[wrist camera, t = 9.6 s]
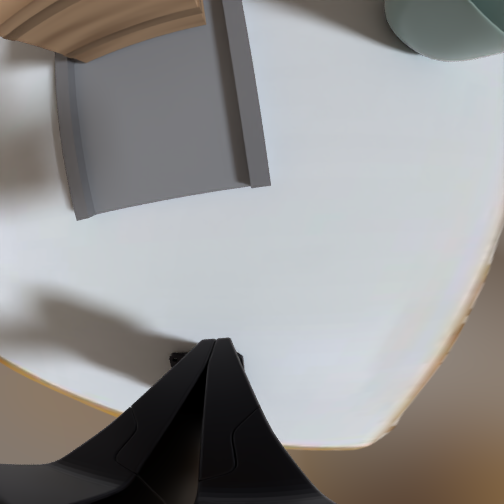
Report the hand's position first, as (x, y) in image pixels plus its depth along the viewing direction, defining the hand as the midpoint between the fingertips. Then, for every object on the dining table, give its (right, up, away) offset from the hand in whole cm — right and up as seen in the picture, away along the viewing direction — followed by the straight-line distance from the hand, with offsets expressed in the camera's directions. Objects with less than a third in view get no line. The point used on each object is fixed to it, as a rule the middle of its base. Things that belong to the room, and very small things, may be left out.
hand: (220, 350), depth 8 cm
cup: (+13, +20, +6) cm, 25 cm away
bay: (-6, +17, +8) cm, 20 cm away
